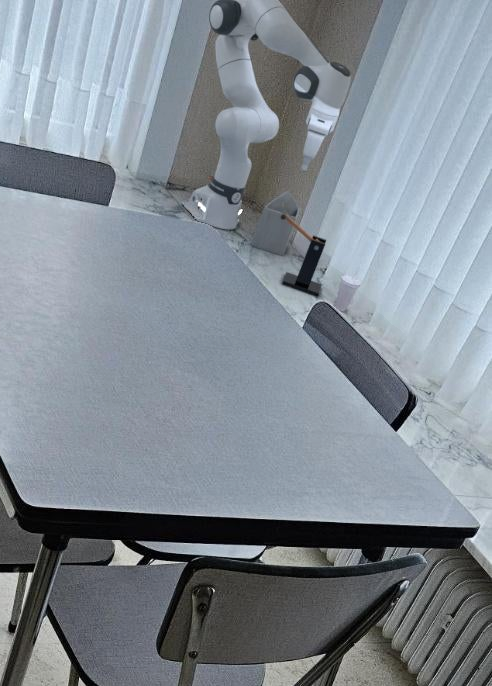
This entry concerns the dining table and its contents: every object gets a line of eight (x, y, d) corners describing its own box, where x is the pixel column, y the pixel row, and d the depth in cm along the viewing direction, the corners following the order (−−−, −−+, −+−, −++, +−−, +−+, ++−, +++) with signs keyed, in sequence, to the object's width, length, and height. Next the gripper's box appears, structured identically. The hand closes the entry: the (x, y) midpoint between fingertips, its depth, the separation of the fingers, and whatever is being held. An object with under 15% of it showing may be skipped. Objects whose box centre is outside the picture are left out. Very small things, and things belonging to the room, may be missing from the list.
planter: (264, 255, 335) (284, 199, 324) (250, 244, 340) (269, 189, 329) (299, 255, 345) (319, 201, 334) (285, 245, 349) (304, 191, 338)
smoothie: (349, 315, 312) (366, 274, 304) (329, 308, 312) (346, 267, 304) (349, 307, 317) (366, 267, 309) (330, 301, 317) (346, 260, 309)
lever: (278, 218, 309) (283, 212, 308) (280, 214, 314) (285, 208, 312) (317, 253, 312) (322, 247, 311) (318, 248, 316) (323, 242, 315)
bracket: (282, 284, 318) (299, 237, 309) (285, 275, 325) (302, 229, 316) (317, 296, 317) (336, 250, 308) (320, 287, 325) (338, 241, 316)
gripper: (314, 111, 312) (298, 155, 319) (308, 124, 295) (292, 170, 303) (333, 117, 311) (317, 161, 319) (328, 131, 294) (311, 177, 302)
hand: (305, 165), depth 311 cm, fingers open, 8 cm apart
